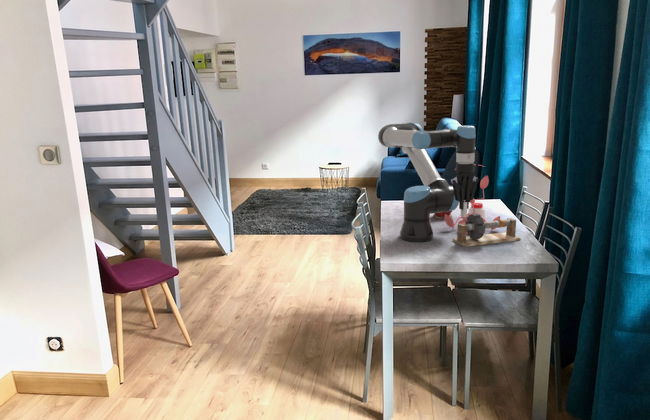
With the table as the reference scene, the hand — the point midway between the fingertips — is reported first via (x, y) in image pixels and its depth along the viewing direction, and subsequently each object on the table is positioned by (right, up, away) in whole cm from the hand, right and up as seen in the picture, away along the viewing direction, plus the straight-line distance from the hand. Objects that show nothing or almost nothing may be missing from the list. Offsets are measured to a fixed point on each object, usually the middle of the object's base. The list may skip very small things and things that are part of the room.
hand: (463, 216), depth 229 cm
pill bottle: (+14, -5, +30) cm, 34 cm away
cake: (+1, -1, +47) cm, 47 cm away
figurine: (+14, +21, +32) cm, 41 cm away
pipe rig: (+12, -11, +6) cm, 17 cm away
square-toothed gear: (+6, -10, +4) cm, 12 cm away
